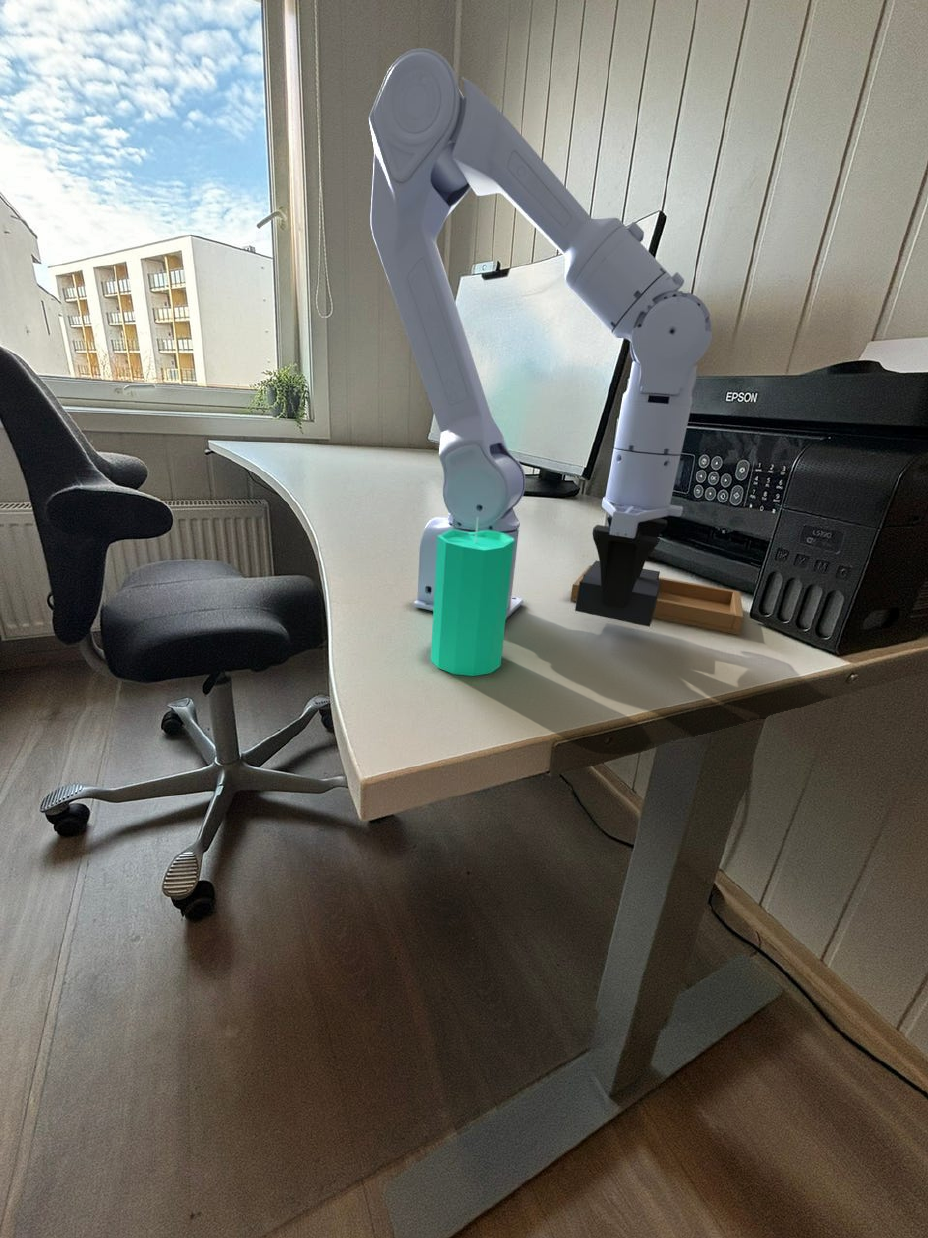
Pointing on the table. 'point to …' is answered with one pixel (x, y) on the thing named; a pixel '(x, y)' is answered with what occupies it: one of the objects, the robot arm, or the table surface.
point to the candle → (470, 600)
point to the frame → (693, 605)
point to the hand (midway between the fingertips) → (618, 596)
